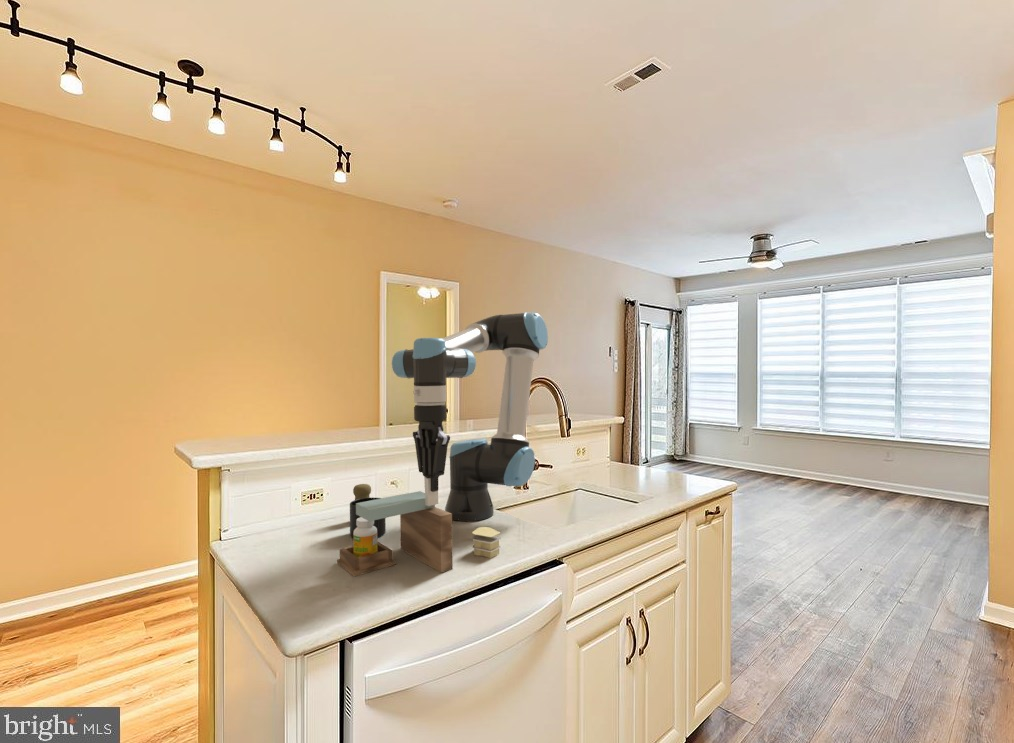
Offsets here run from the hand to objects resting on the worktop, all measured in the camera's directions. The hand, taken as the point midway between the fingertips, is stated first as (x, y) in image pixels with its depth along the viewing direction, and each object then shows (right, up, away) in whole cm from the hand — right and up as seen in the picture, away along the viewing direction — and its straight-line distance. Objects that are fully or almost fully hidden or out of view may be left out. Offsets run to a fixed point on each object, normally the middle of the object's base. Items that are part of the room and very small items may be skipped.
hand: (431, 504), depth 114 cm
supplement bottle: (-15, -13, -1) cm, 20 cm away
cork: (-26, -14, +32) cm, 44 cm away
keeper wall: (-2, -14, +2) cm, 14 cm away
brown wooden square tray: (-15, -14, -1) cm, 21 cm away
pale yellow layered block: (+13, -14, +6) cm, 20 cm away
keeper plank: (-8, -1, -1) cm, 8 cm away
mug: (-20, -14, +19) cm, 31 cm away
